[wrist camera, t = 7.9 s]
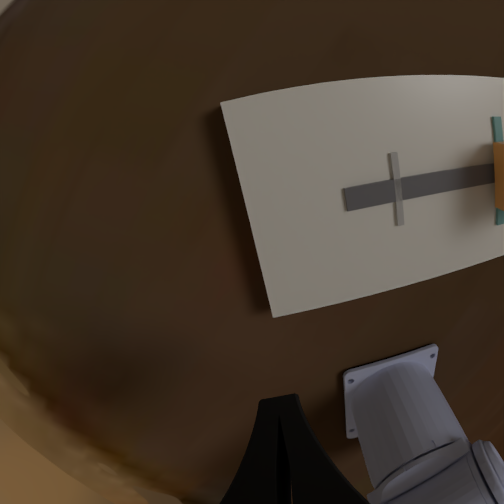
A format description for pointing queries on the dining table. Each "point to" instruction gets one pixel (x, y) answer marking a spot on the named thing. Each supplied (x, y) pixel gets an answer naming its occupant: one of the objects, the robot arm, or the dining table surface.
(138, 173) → the dining table surface
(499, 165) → the fader tab
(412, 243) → the fader console
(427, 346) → the robot arm
